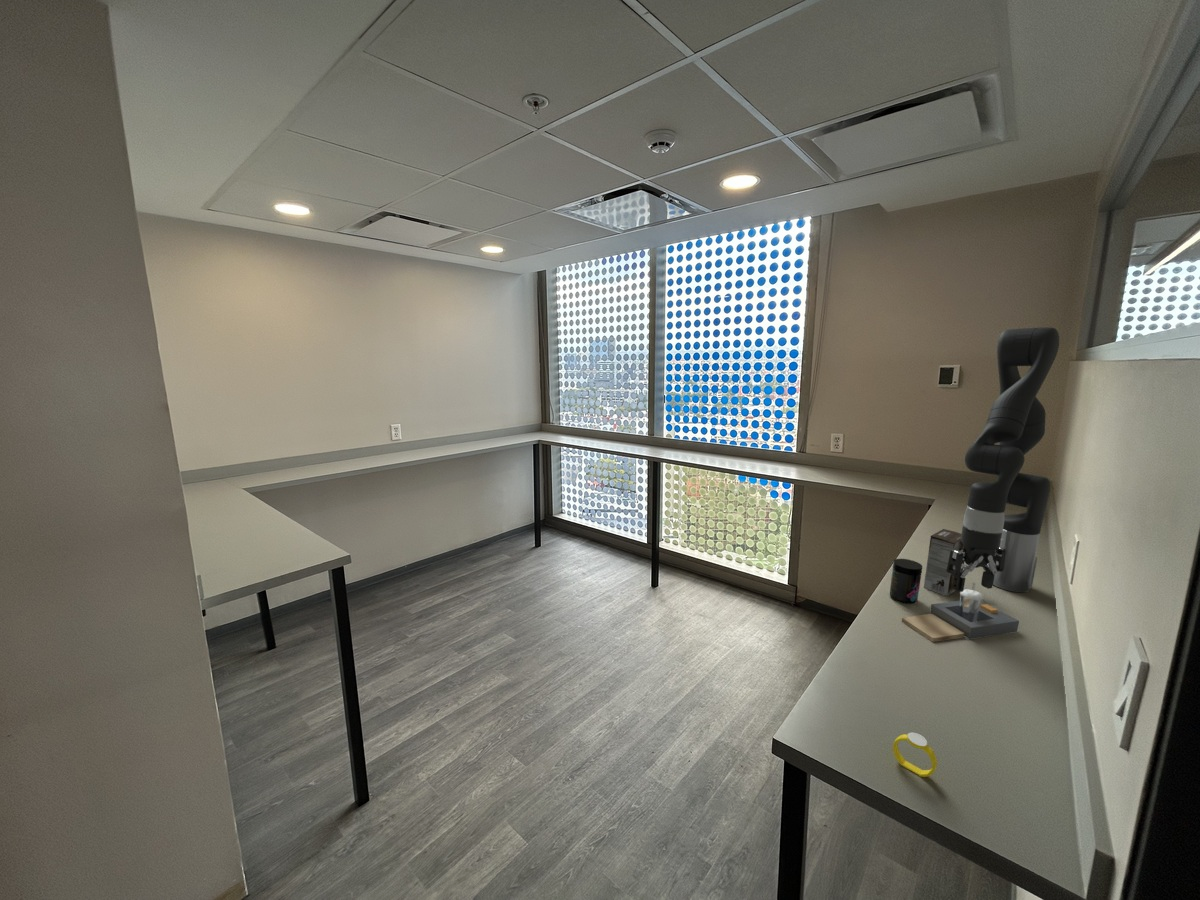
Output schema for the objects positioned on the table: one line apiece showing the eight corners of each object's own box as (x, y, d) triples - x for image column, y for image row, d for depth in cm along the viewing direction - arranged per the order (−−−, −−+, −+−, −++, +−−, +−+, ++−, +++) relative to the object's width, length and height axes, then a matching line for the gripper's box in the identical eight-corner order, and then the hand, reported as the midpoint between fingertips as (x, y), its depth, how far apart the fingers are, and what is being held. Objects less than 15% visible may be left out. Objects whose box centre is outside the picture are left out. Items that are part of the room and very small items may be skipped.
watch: (934, 777, 78) (942, 747, 76) (929, 787, 76) (937, 756, 75) (894, 751, 82) (901, 723, 81) (888, 760, 81) (895, 731, 79)
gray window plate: (974, 608, 127) (976, 595, 127) (1017, 631, 117) (1019, 617, 116) (929, 614, 125) (931, 601, 124) (969, 639, 114) (972, 624, 113)
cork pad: (931, 617, 123) (931, 613, 123) (964, 637, 115) (964, 633, 115) (901, 621, 122) (902, 617, 121) (932, 642, 113) (933, 638, 113)
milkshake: (979, 622, 121) (985, 586, 119) (977, 631, 117) (983, 594, 115) (957, 616, 124) (962, 580, 122) (954, 625, 120) (960, 588, 118)
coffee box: (936, 579, 144) (943, 528, 141) (961, 587, 139) (969, 534, 135) (922, 587, 139) (929, 535, 136) (947, 596, 134) (956, 542, 130)
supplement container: (902, 606, 129) (907, 570, 127) (883, 594, 135) (887, 559, 133) (923, 603, 130) (928, 567, 128) (903, 591, 137) (908, 557, 134)
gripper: (991, 519, 120) (980, 579, 123) (943, 523, 117) (934, 584, 121) (1022, 529, 113) (1010, 593, 116) (973, 534, 110) (962, 599, 113)
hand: (972, 588), depth 118 cm, fingers open, 8 cm apart
